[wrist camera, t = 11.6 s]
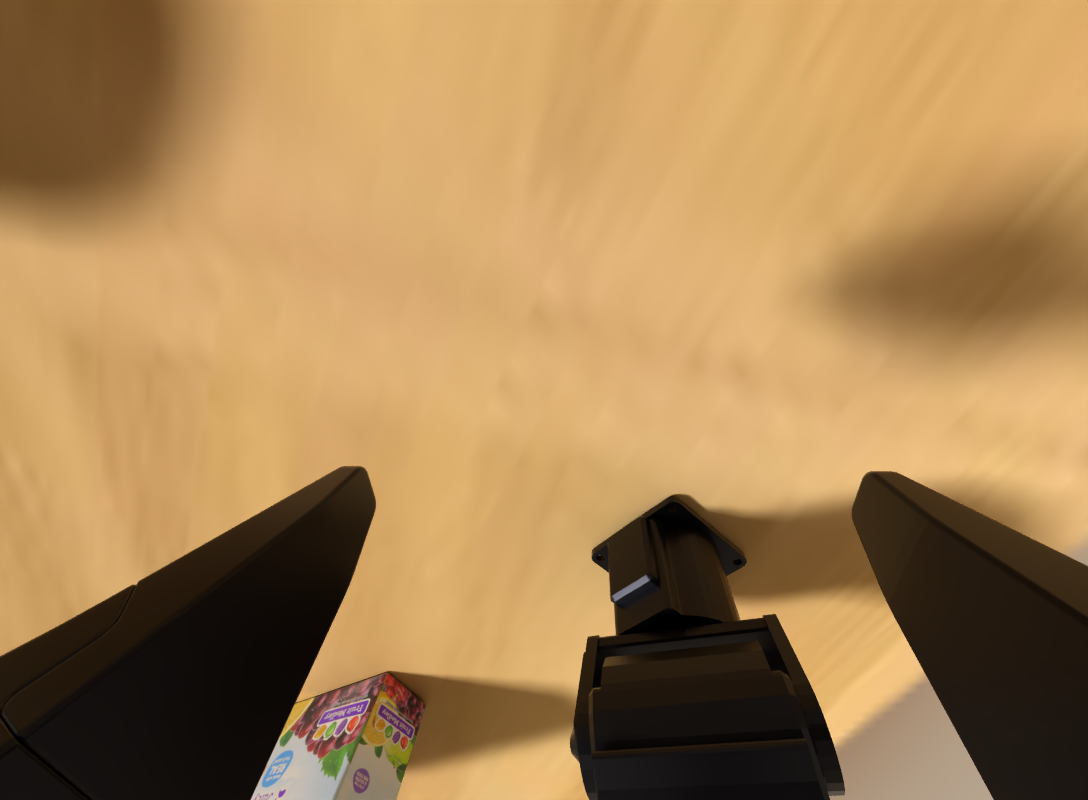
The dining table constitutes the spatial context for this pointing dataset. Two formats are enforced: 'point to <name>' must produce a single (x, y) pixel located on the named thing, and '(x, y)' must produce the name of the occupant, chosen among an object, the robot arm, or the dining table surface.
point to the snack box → (345, 744)
